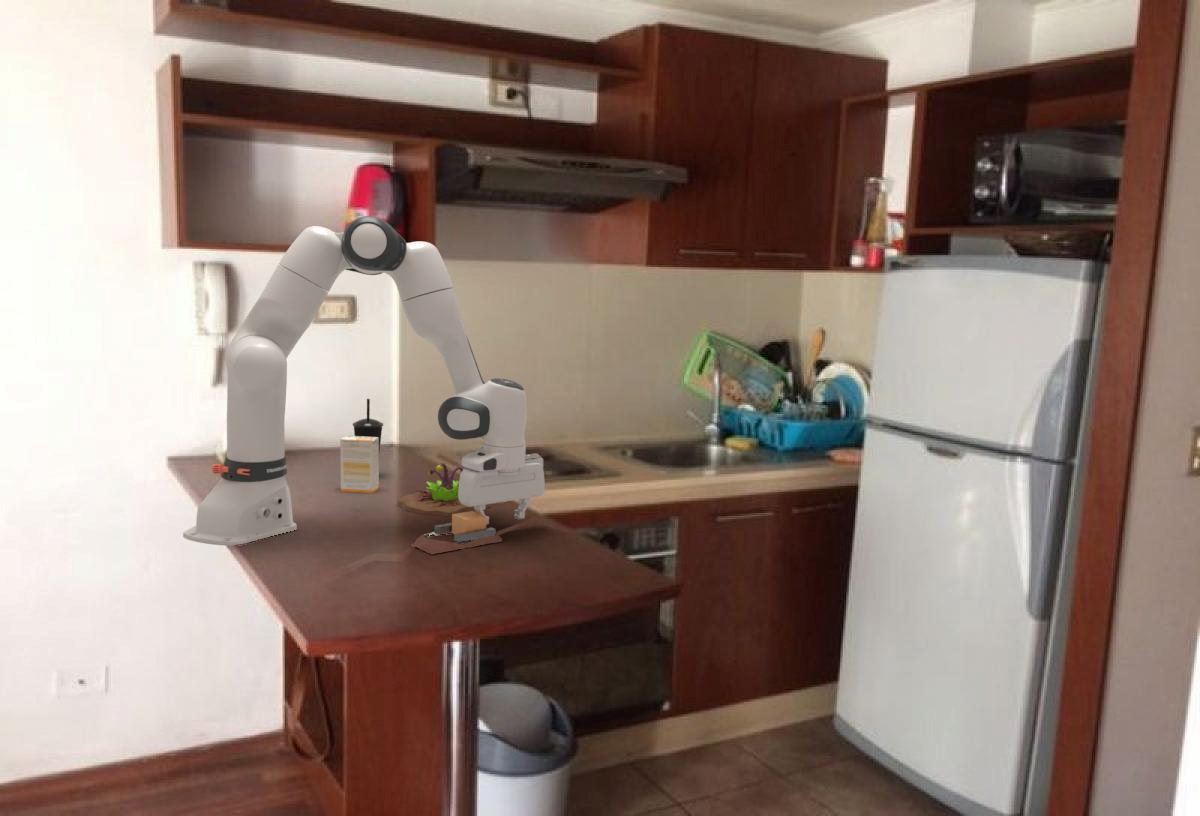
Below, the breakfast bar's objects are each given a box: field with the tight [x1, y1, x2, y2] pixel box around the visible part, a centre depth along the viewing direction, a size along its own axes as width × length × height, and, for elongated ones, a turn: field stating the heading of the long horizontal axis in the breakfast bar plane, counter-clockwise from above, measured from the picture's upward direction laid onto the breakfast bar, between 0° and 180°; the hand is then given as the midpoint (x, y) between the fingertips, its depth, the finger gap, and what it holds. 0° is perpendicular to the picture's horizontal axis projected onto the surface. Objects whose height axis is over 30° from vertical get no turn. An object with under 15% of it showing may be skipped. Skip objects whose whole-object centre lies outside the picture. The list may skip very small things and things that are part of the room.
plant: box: [396, 462, 491, 517], centre depth 228 cm, size 20×20×11 cm
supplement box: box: [339, 435, 380, 494], centre depth 241 cm, size 8×5×13 cm, turn 84°
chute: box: [423, 522, 497, 543], centre depth 203 cm, size 17×11×3 cm, turn 132°
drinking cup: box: [352, 398, 384, 453], centre depth 257 cm, size 8×8×20 cm
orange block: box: [451, 511, 487, 535], centre depth 205 cm, size 5×5×4 cm
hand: (501, 521), depth 211 cm, fingers open, 8 cm apart
